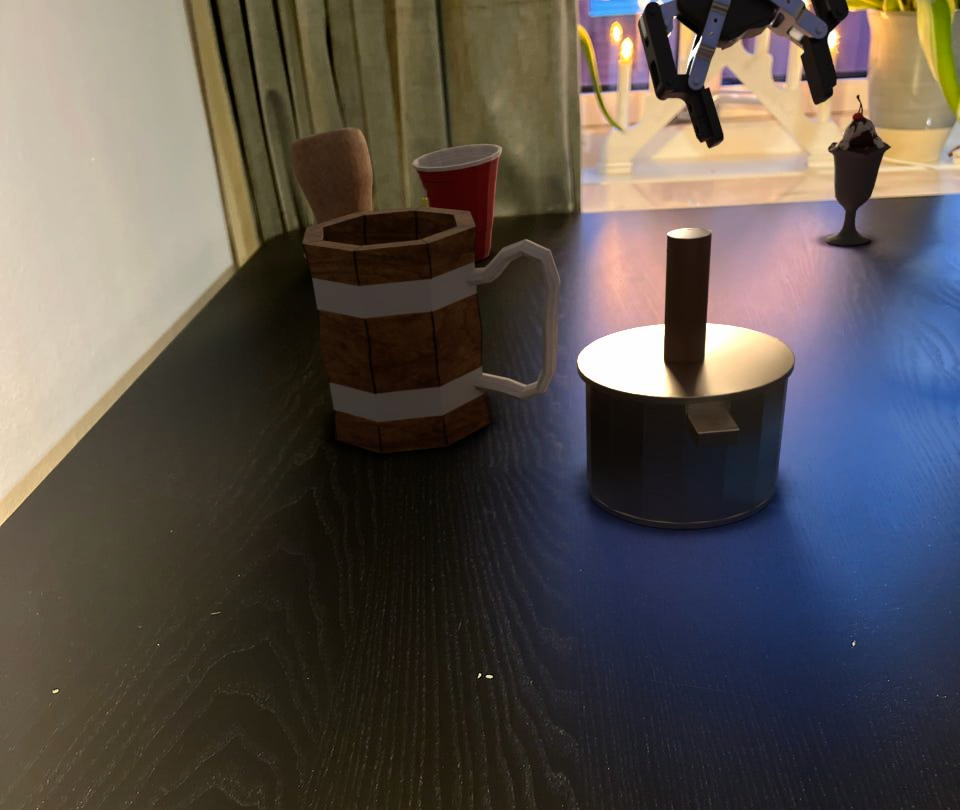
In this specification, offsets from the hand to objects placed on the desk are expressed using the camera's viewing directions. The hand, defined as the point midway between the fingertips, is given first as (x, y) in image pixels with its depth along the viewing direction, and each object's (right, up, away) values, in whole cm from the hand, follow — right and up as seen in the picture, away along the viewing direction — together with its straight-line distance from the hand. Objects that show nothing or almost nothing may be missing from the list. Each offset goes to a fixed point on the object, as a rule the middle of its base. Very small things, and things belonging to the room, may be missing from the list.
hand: (770, 122), depth 73 cm
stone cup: (-39, +11, +54) cm, 67 cm away
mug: (-24, -21, +7) cm, 33 cm away
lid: (-9, -21, -10) cm, 25 cm away
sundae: (+22, +8, +43) cm, 49 cm away
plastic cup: (-23, +9, +50) cm, 56 cm away
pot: (-8, -28, -5) cm, 29 cm away
